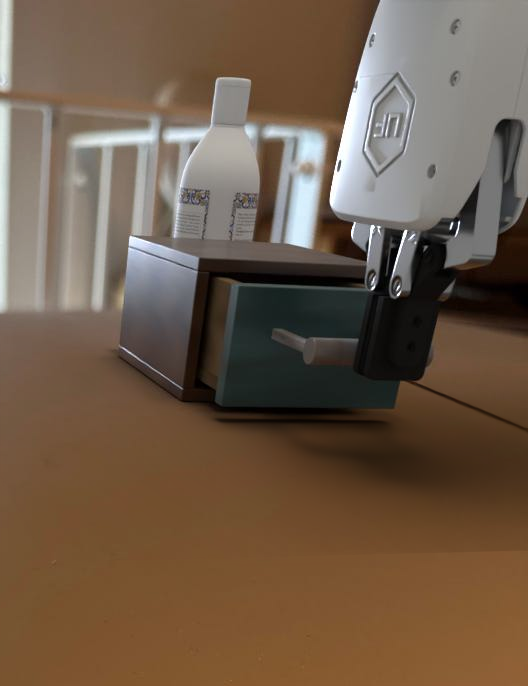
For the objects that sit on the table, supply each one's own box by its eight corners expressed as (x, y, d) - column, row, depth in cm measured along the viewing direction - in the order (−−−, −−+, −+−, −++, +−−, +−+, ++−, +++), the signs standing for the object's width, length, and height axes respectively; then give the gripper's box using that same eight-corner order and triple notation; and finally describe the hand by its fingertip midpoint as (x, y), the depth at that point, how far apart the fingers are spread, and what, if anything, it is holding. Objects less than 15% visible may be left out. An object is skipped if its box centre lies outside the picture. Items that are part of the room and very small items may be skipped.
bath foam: (235, 324, 92) (271, 84, 83) (241, 336, 86) (280, 78, 77) (163, 318, 93) (190, 79, 83) (164, 329, 86) (194, 72, 77)
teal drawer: (449, 435, 54) (482, 309, 51) (262, 434, 51) (284, 301, 48) (298, 363, 71) (316, 265, 68) (151, 360, 68) (162, 257, 65)
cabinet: (359, 403, 64) (388, 266, 60) (181, 401, 61) (199, 257, 57) (269, 359, 77) (288, 243, 73) (117, 355, 74) (129, 234, 70)
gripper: (322, -36, 47) (260, 347, 55) (518, -100, 34) (399, 413, 43) (456, -20, 49) (377, 351, 57) (691, -74, 36) (544, 414, 44)
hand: (386, 376), depth 50 cm, fingers closed
